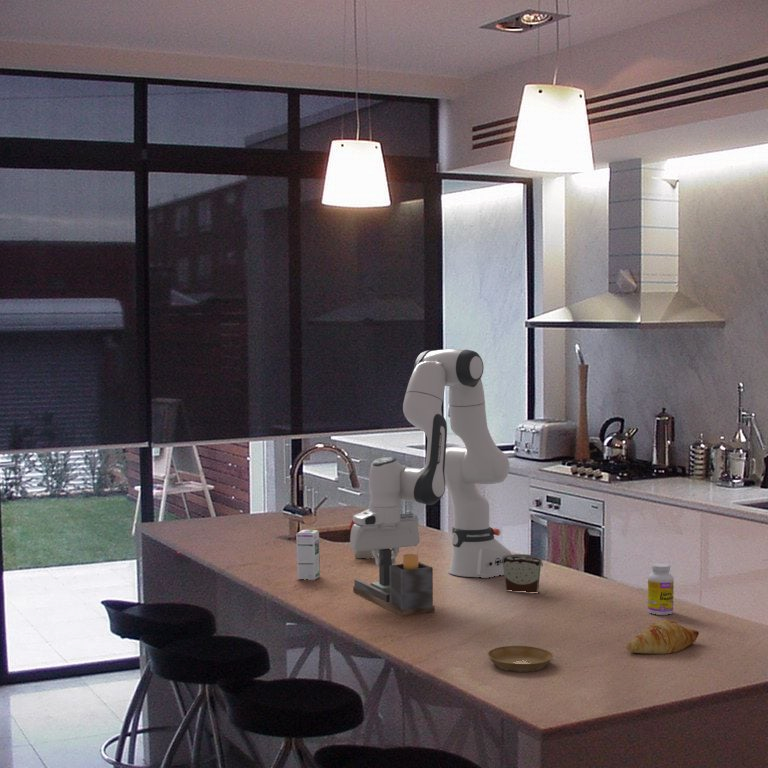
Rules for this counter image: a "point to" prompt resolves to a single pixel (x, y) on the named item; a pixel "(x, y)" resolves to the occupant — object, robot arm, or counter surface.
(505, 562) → the food container
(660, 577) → the supplement bottle
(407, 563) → the button
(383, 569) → the carriage
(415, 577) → the rail
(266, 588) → the counter surface
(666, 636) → the croissant
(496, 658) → the plant saucer
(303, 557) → the syrup box
